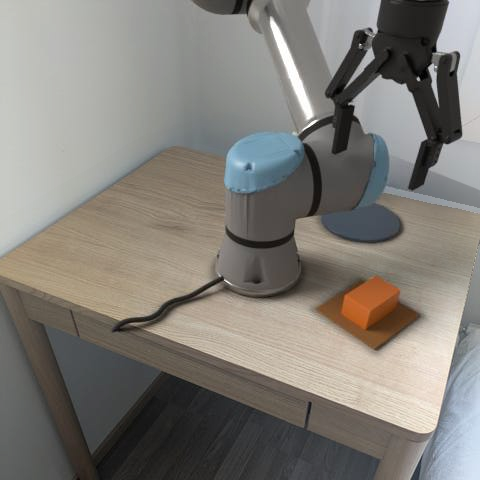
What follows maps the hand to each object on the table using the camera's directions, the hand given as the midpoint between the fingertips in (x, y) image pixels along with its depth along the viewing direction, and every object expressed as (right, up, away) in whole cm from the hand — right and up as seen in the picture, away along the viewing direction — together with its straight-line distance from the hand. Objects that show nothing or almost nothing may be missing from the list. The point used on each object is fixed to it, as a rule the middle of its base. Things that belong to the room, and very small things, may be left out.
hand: (375, 168), depth 70 cm
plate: (+5, -1, +32) cm, 32 cm away
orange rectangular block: (+2, -20, +10) cm, 23 cm away
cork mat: (+1, -21, +10) cm, 23 cm away
